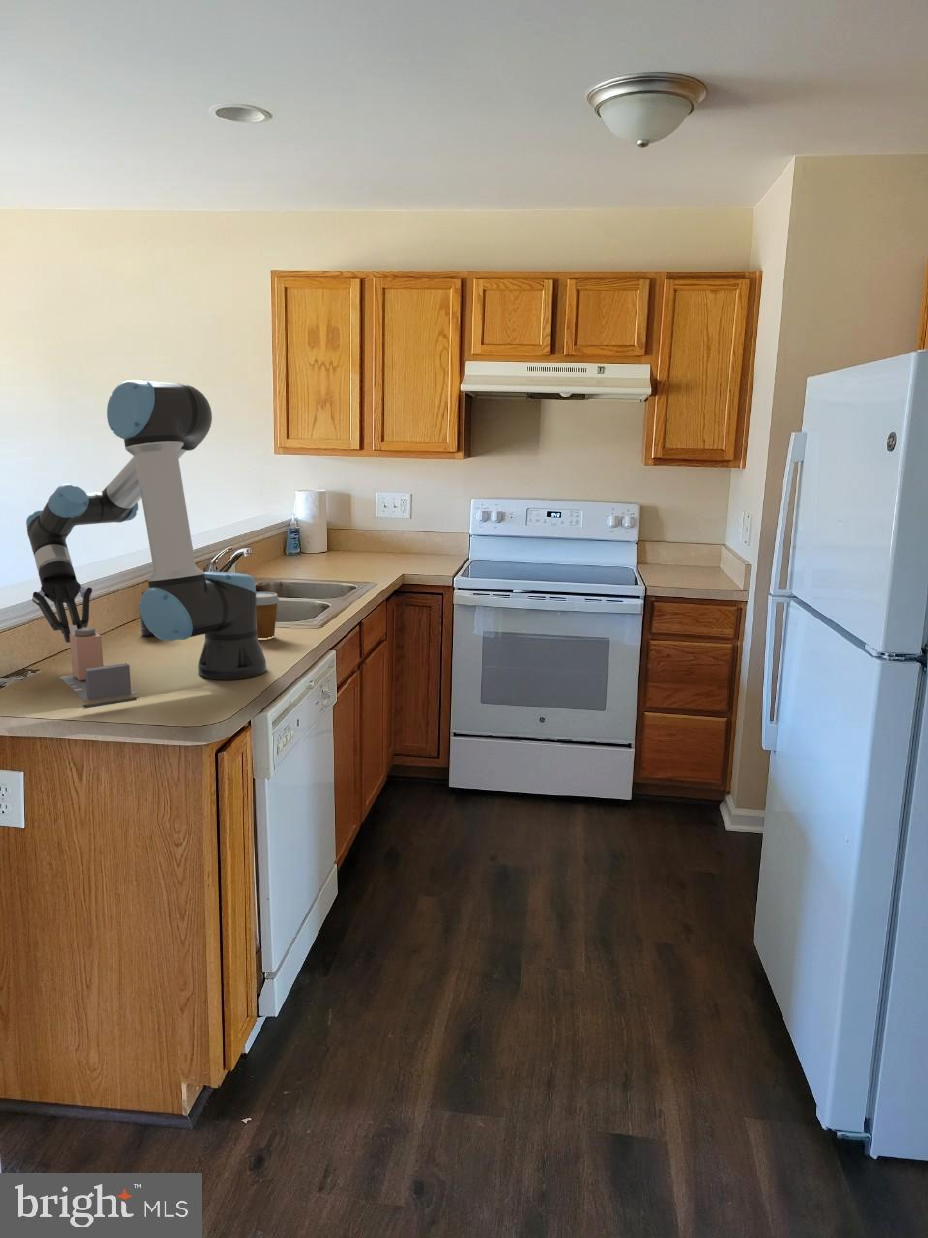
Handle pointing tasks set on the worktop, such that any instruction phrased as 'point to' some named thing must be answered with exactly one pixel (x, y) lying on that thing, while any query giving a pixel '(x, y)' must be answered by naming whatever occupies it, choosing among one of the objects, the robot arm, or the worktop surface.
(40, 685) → the worktop surface
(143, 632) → the supplement bottle
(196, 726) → the worktop surface
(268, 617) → the disposable coffee cup
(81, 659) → the terracotta plug block
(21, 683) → the worktop surface
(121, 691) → the slate track
